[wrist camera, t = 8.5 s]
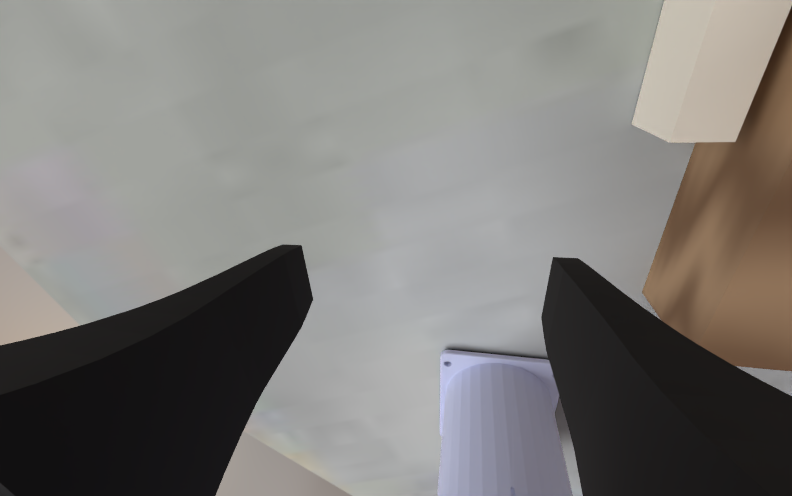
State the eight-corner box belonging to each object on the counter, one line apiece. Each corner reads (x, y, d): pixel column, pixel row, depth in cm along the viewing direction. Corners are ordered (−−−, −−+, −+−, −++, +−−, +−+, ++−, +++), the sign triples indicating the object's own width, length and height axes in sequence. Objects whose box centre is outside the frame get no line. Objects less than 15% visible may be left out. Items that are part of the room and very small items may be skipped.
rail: (725, 297, 18) (801, 372, 14) (642, 292, 19) (690, 361, 15) (896, -38, 12) (1142, -88, 7) (755, -25, 12) (903, -64, 8)
